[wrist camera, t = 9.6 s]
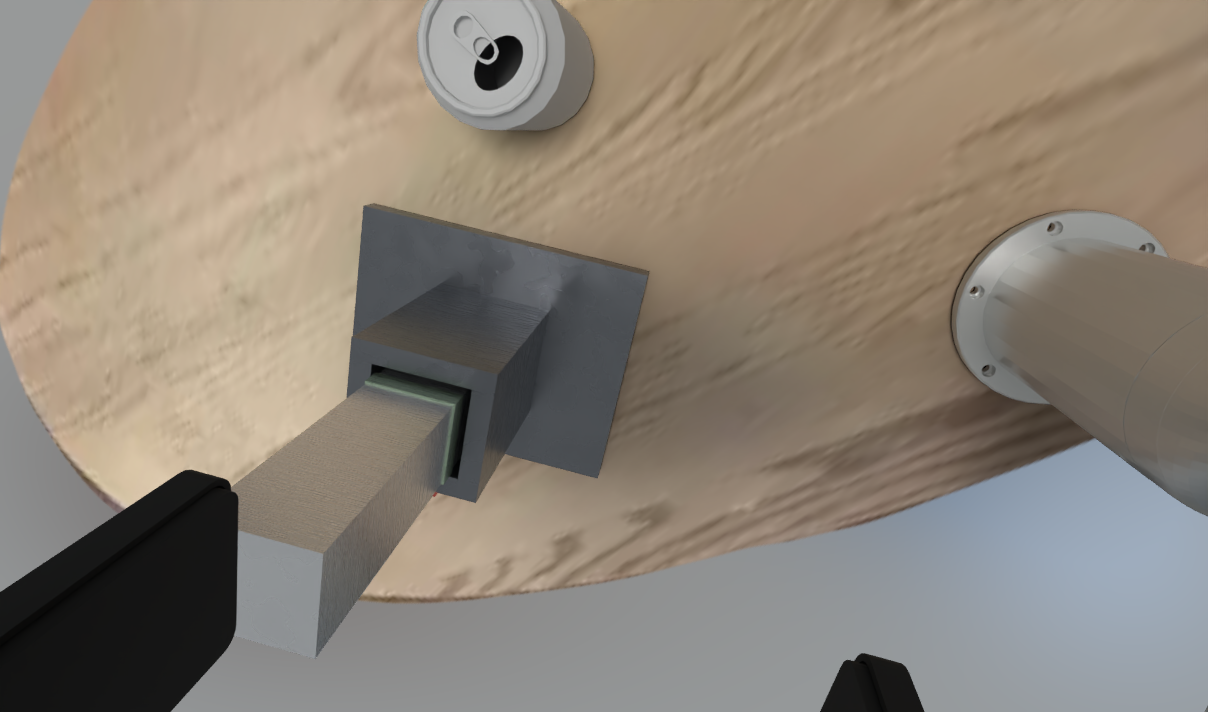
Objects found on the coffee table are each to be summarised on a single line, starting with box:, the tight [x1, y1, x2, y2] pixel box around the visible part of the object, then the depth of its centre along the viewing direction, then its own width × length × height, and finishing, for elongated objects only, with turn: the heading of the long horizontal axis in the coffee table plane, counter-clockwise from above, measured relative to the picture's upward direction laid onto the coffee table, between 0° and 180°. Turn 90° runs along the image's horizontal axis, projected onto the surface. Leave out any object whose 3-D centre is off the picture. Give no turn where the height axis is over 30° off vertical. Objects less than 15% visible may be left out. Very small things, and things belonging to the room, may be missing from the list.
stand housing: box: [347, 204, 649, 503], centre depth 41 cm, size 20×16×14 cm
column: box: [231, 368, 472, 659], centre depth 31 cm, size 5×5×20 cm
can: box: [417, 0, 594, 130], centre depth 35 cm, size 8×8×12 cm
